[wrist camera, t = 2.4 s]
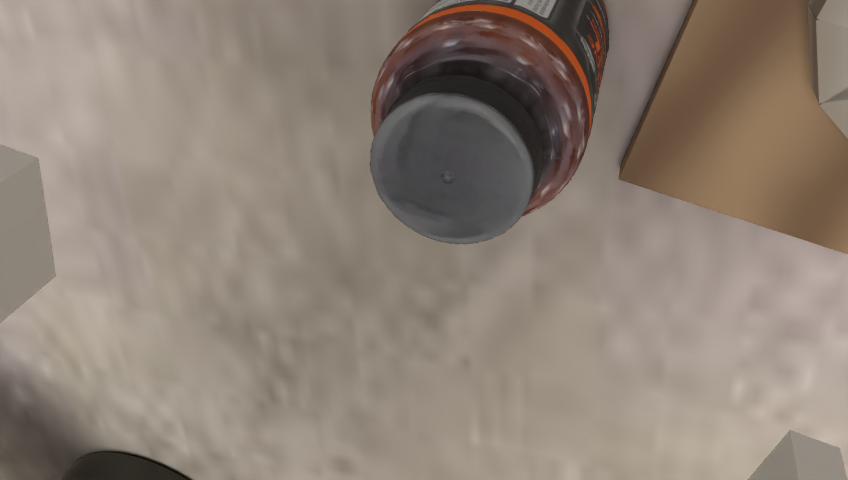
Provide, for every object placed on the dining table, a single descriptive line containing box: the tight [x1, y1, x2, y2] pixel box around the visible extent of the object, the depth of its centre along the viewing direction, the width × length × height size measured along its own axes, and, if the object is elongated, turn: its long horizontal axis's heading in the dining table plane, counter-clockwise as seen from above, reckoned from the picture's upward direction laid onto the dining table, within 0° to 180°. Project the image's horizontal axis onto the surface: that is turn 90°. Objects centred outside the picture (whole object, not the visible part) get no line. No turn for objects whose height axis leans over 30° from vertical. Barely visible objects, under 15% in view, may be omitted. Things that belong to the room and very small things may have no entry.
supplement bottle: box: [370, 0, 609, 244], centre depth 21 cm, size 6×6×11 cm
